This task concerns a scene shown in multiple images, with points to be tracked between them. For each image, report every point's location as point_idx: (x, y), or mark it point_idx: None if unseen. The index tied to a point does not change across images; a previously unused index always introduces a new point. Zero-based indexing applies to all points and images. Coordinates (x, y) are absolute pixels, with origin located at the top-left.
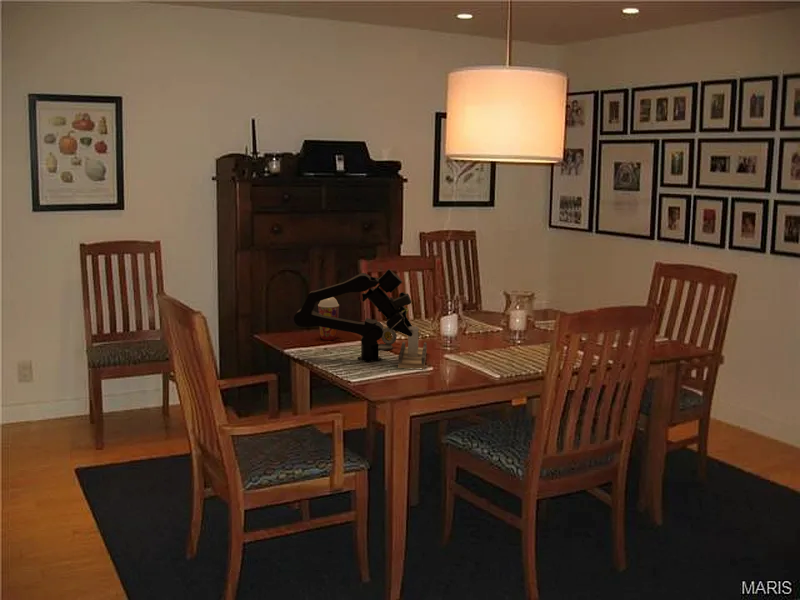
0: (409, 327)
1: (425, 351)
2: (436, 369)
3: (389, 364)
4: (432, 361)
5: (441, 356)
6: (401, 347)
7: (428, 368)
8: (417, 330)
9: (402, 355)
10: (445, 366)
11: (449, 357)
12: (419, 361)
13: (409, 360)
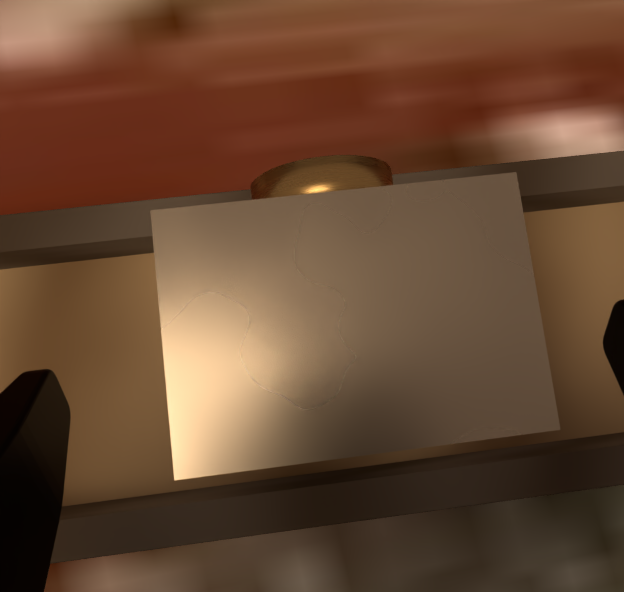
0: (308, 438)
1: None
2: (586, 76)
3: (533, 578)
4: (294, 150)
5: (63, 86)
6: (223, 533)
7: (573, 153)
8: (508, 193)
9: (510, 453)
10: (454, 8)
11: (90, 5)
12: (577, 232)
13: (569, 349)
